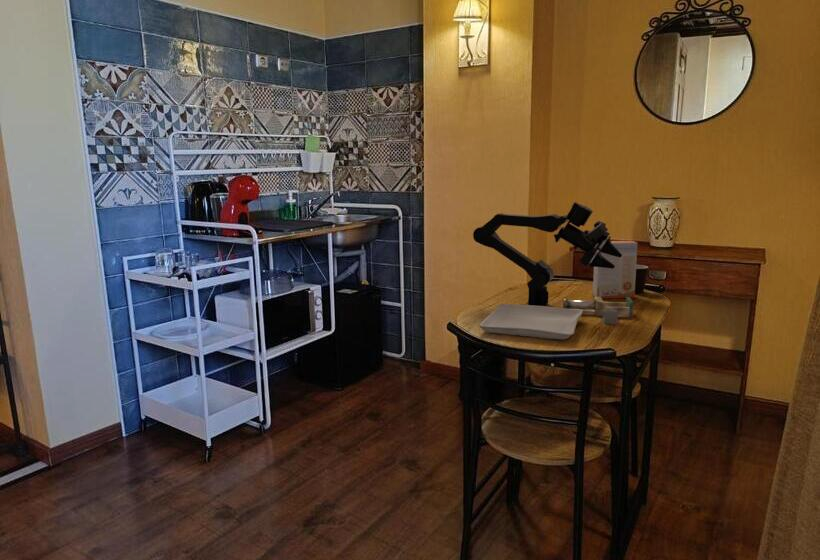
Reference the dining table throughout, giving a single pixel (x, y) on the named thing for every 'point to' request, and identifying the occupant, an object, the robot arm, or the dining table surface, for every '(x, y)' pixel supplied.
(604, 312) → the block
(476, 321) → the dining table surface
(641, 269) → the coffee mug
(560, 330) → the square plate
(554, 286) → the dining table surface
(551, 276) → the robot arm
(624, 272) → the cracker box
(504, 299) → the dining table surface
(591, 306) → the shaft
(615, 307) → the bearing bed
